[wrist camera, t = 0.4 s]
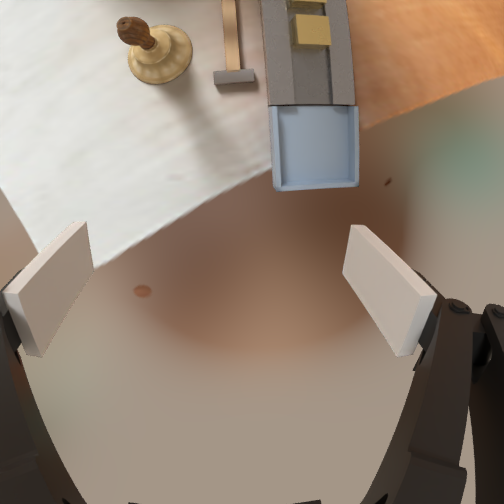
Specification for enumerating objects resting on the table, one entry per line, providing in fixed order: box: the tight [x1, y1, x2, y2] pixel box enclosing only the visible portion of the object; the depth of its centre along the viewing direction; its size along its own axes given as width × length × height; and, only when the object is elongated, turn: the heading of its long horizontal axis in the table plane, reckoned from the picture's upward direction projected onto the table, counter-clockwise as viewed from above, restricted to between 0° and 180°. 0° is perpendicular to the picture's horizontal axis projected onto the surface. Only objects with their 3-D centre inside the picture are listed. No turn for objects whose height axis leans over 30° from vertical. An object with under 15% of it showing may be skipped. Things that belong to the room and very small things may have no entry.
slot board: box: [260, 0, 355, 105], centre depth 31 cm, size 22×11×2 cm, turn 4°
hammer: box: [213, 0, 254, 85], centre depth 31 cm, size 13×5×2 cm, turn 4°
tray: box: [268, 106, 359, 192], centre depth 38 cm, size 11×11×3 cm
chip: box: [291, 14, 331, 50], centre depth 30 cm, size 4×4×3 cm
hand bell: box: [117, 17, 192, 84], centre depth 25 cm, size 8×8×16 cm
